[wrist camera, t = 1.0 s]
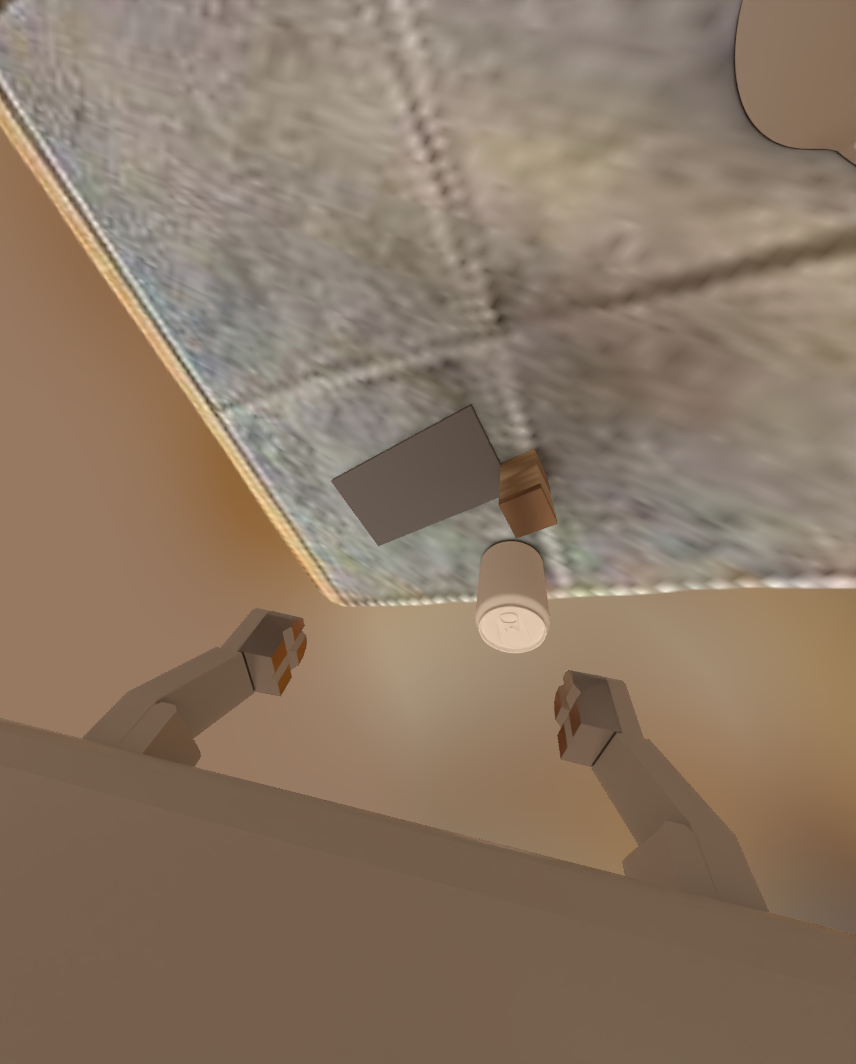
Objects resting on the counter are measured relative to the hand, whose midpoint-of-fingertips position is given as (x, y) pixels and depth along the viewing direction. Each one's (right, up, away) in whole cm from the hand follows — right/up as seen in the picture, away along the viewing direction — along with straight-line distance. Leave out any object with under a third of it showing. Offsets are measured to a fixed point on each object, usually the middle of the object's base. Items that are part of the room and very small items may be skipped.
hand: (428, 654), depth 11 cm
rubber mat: (-1, +10, +33) cm, 35 cm away
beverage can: (+11, 0, +37) cm, 39 cm away
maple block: (+11, +11, +30) cm, 34 cm away
